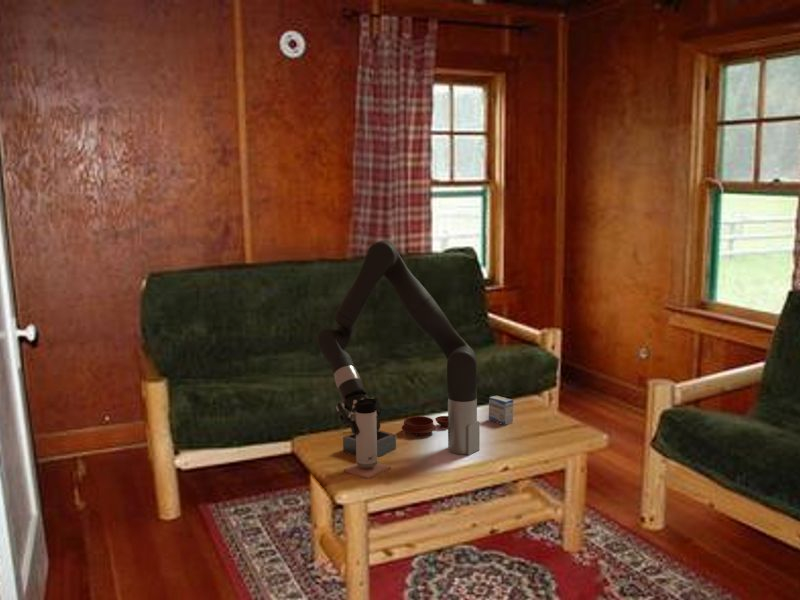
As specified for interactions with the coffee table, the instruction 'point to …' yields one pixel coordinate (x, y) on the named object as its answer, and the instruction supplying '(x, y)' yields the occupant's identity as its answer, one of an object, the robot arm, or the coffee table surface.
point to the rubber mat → (367, 470)
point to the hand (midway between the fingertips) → (367, 431)
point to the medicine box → (500, 410)
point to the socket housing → (384, 443)
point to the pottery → (423, 424)
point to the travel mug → (366, 432)
